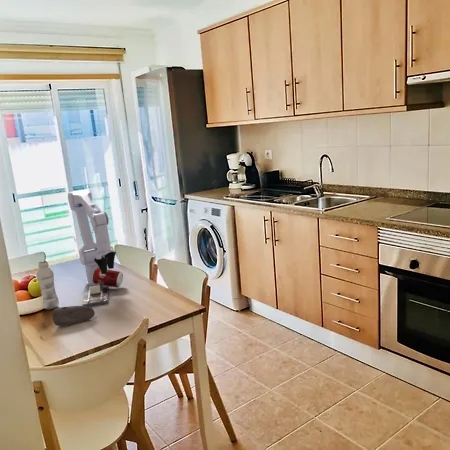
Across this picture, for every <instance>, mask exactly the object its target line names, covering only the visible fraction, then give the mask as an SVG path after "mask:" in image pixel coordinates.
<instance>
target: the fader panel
mask: <svg viewBox="0 0 450 450" xmlns="http://www.w3.org/2000/svg"><path fill="white" fill-rule="evenodd" d="M90 285H92V284H90ZM90 285H85V286H84V294H83V300H82V305H81V306H87V307H90V308H92V307H97V306H102V305H109V286H105V285H100V290H101V291H100V293H95V294H91V292H90Z"/></svg>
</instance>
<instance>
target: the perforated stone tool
mask: <svg viewBox="0 0 450 450" xmlns="http://www.w3.org/2000/svg"><path fill="white" fill-rule="evenodd" d="M95 314H96V312H95V310H94V308H92V307H87V306H83V305H69V306H63V307H56V308H54V309H53V311H52V313H51V316H52V322H53V324H54V325H55V326H56V327H65V326H71V325H72V326H73V325H76V324H81V323H83V322H88V321H90V320H91V319H93V317H95Z"/></svg>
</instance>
